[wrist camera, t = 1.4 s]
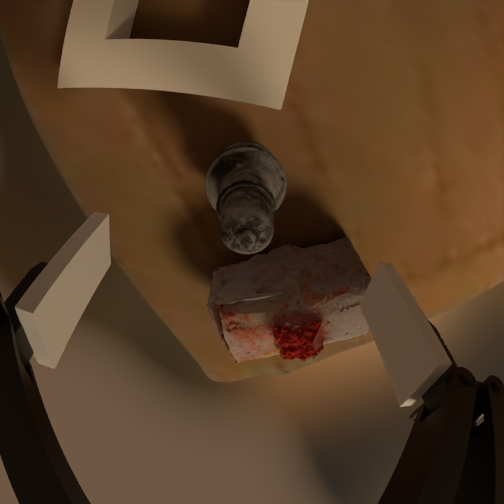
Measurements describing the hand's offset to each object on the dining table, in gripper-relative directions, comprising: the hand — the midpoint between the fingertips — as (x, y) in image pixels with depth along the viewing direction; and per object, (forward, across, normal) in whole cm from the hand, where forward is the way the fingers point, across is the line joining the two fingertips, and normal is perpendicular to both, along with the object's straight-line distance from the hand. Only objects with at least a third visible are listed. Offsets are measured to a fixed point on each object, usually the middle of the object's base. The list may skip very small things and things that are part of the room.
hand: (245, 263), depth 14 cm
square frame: (+12, -7, +15) cm, 20 cm away
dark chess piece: (+13, 0, +1) cm, 13 cm away
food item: (+13, +6, -8) cm, 17 cm away
